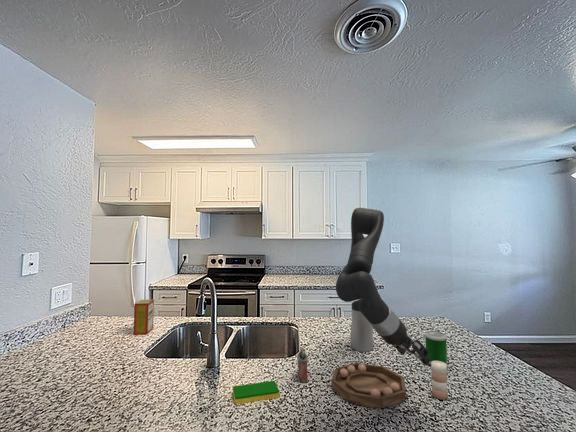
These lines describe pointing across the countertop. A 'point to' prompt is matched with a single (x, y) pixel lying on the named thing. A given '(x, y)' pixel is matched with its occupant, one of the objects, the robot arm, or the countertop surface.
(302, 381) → the lighter
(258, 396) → the dish sponge
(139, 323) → the baking soda box
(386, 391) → the seated beads
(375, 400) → the bead tray
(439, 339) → the soda can
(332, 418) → the countertop surface
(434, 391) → the bead stack
